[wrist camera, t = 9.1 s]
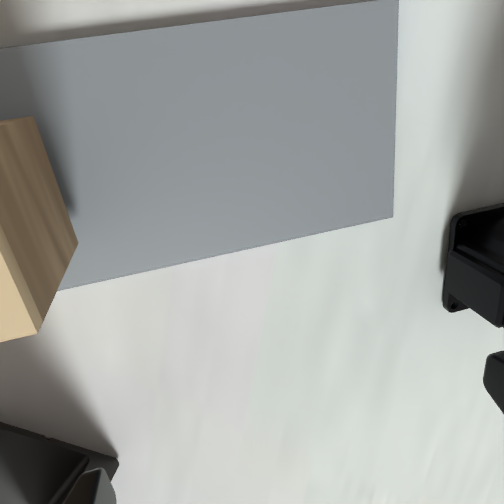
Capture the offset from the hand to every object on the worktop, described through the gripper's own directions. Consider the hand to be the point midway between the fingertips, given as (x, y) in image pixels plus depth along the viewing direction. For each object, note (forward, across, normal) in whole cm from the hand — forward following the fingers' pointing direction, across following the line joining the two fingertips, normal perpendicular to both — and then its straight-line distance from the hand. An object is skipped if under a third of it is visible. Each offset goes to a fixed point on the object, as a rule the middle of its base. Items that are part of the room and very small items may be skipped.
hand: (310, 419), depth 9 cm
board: (+12, +3, -4) cm, 13 cm away
